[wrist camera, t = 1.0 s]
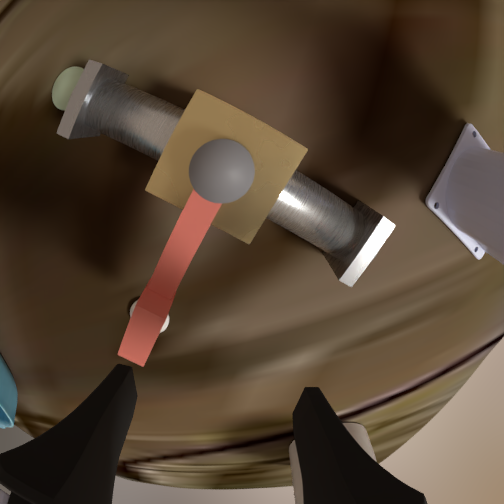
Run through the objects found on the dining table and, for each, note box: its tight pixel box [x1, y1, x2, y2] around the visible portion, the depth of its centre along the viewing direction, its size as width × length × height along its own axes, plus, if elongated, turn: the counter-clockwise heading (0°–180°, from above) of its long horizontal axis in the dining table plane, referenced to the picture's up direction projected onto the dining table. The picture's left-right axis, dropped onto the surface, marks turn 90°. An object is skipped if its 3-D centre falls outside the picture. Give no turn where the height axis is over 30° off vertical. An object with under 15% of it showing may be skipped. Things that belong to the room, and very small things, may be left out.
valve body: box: [57, 60, 395, 287], centre depth 15 cm, size 20×6×4 cm, turn 60°
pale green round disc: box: [52, 66, 84, 110], centre depth 14 cm, size 3×3×1 cm
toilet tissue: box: [289, 423, 377, 504], centre depth 26 cm, size 11×12×10 cm
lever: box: [118, 139, 255, 366], centre depth 13 cm, size 12×3×3 cm, turn 150°
